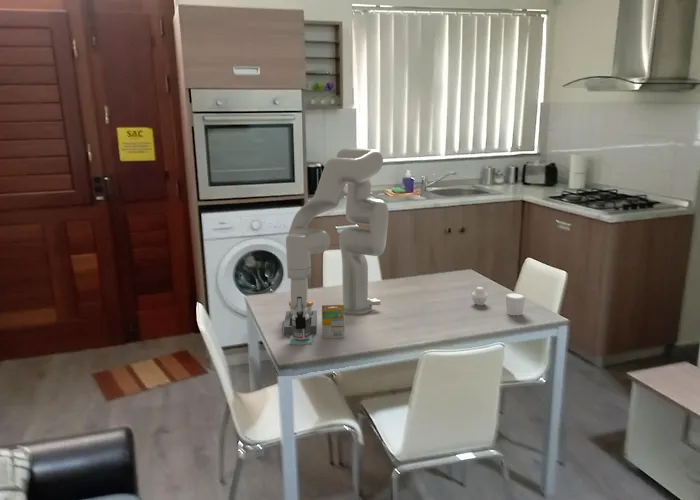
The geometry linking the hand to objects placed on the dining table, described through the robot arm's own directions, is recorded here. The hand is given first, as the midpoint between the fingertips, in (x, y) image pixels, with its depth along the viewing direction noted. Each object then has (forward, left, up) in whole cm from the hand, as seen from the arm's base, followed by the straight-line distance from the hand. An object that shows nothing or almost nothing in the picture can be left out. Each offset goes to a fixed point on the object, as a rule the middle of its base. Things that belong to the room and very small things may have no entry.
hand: (301, 324), depth 183 cm
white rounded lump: (-67, -29, -6) cm, 74 cm away
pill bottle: (0, 0, -5) cm, 5 cm away
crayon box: (-10, -2, -6) cm, 12 cm away
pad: (0, 0, -6) cm, 6 cm away
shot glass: (-77, -18, -6) cm, 80 cm away
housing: (+1, -12, -6) cm, 13 cm away
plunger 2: (-2, -17, -5) cm, 18 cm away
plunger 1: (+3, -17, -5) cm, 18 cm away
